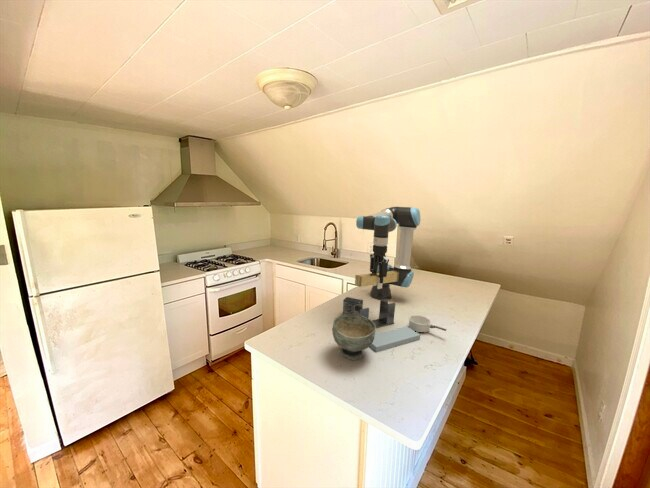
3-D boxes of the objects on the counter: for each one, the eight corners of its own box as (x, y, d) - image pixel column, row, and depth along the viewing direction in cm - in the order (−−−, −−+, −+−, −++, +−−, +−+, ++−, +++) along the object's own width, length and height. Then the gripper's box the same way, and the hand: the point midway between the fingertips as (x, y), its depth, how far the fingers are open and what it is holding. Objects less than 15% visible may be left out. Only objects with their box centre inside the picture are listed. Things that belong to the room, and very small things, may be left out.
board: (363, 341, 135) (363, 336, 134) (406, 330, 147) (406, 326, 147) (376, 352, 126) (376, 347, 125) (420, 339, 138) (420, 334, 138)
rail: (354, 284, 143) (355, 275, 142) (393, 279, 154) (394, 270, 153) (359, 286, 139) (359, 277, 138) (398, 281, 151) (399, 272, 150)
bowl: (343, 372, 111) (345, 338, 108) (324, 347, 128) (325, 317, 125) (383, 361, 119) (385, 330, 116) (360, 339, 136) (362, 311, 133)
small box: (362, 316, 163) (363, 299, 161) (359, 320, 157) (360, 303, 155) (346, 312, 167) (346, 296, 165) (342, 316, 161) (343, 299, 159)
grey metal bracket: (351, 326, 149) (353, 305, 147) (386, 318, 160) (387, 298, 158) (359, 332, 143) (360, 310, 141) (394, 323, 154) (396, 303, 152)
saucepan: (440, 343, 136) (441, 333, 135) (404, 328, 149) (404, 319, 148) (449, 335, 144) (450, 326, 143) (414, 322, 157) (415, 313, 156)
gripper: (364, 242, 148) (362, 282, 153) (384, 248, 133) (381, 293, 138) (376, 241, 152) (373, 281, 156) (396, 247, 137) (392, 291, 141)
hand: (376, 286), depth 147 cm, fingers closed on rail, 4 cm apart
